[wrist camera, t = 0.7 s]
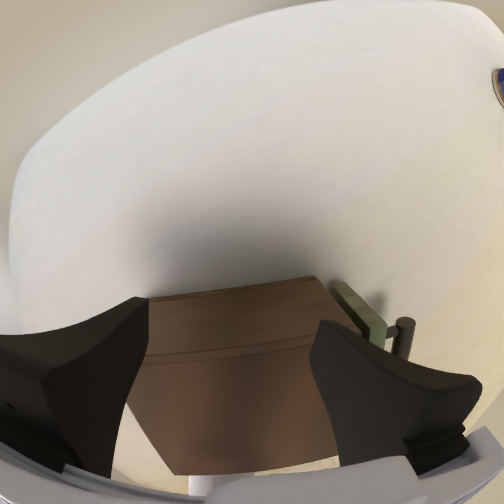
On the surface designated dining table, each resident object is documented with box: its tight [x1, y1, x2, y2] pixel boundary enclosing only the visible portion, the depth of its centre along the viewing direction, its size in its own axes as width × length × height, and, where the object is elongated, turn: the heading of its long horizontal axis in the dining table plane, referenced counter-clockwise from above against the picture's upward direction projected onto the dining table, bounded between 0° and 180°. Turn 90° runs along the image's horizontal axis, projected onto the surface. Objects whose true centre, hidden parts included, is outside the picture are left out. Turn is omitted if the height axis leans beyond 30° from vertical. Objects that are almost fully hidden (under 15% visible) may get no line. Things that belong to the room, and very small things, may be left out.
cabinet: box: [126, 276, 362, 476], centre depth 19 cm, size 14×13×9 cm
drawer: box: [331, 282, 416, 361], centre depth 19 cm, size 17×11×7 cm
